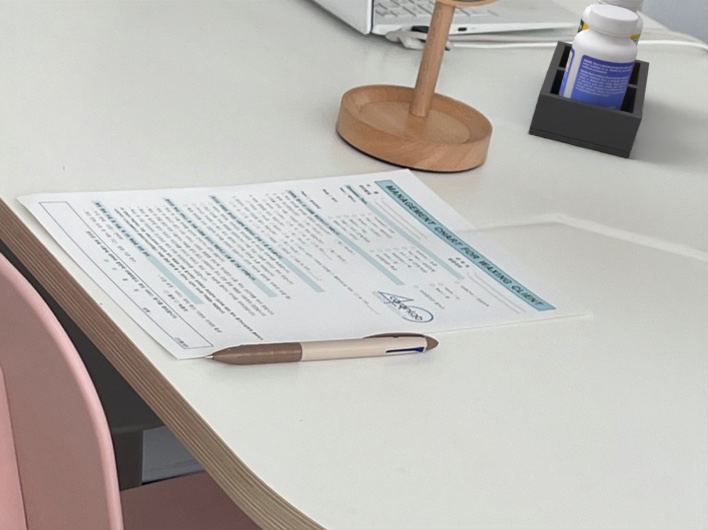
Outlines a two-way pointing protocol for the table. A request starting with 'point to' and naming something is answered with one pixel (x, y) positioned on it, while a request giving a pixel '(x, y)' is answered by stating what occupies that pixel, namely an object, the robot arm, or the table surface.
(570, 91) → the pill bottle
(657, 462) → the table surface
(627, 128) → the sorting tray
